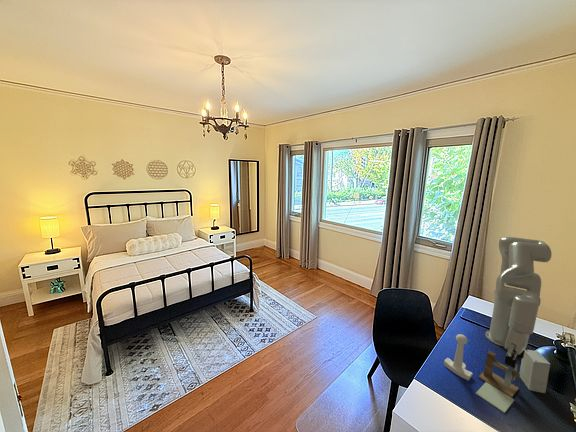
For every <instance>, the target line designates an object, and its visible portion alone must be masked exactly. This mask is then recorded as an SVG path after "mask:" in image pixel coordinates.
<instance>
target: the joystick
mask: <svg viewBox="0 0 576 432" xmlns="http://www.w3.org/2000/svg"><path fill="white" fill-rule="evenodd" d="M455 339H456V342H457V345H456V349H455V355H454V359H453V360H452V359H450V358H449V357H446V358H445V359H444V360H443V365H444V366H445V367H446V368H447V369H448V370H449V371H451V372H452V373H454V374H456V375H457V376H459V377H460V378H463V379H464V380H466V381H470V380H471V378H472V377H473V372H472V371H470V370H468V369H467V365H466V363H465V362H463V361H464V350H465V349H464V347H465V345H467V344H468V338H467V337H466V335H464V334H462V333H461V334H459V333H458V334H457V335H456V336H455Z"/></svg>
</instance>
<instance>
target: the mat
mask: <svg viewBox="0 0 576 432" xmlns="http://www.w3.org/2000/svg"><path fill="white" fill-rule="evenodd" d="M475 395H477V396H478V397H480V399H481V398H482V399H483V400H484V401H485V402H487V403H488V404H490V405H491V406H493V407H494V408H496V409H497V410H499V411H500V412H502V413H503V414H505V413H506V412H507V411H508V410H509V409H510V407H511V406H512V404H513V403H514V402H515V399H514V398H513V397H512V398H511V397H509V396H508V395H506V394H504V393H503V392H501V391H500V390H498V389H496V388H495V387H493V386H492V385H490V384H488V383H487V382H485V381H484V383H483V385H481V387H480V388H479V389H478V390H477V391H476V392H475Z"/></svg>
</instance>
